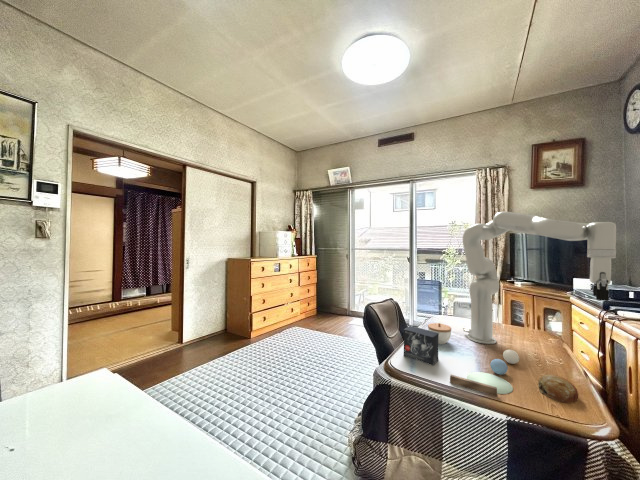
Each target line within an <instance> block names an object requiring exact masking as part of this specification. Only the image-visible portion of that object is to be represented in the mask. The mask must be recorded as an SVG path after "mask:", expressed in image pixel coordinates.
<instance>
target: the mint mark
mask: <svg viewBox="0 0 640 480" xmlns="http://www.w3.org/2000/svg"><path fill="white" fill-rule="evenodd" d="M466 379H469V380H472V381H476V382H479V383H483V384H486V385H490V386H493V387H497V395H506V394H508V395H509V394H511V393H513V389H514V388H513V385H512V384H511V383H510V382H508V381H507V380H506V379H504V378H502V377H500V376H497V375H495V374H492V373H488V372H483V371H482V372H481V371H473V372H469V373H468V374H467V375H466Z"/></svg>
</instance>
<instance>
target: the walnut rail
mask: <svg viewBox="0 0 640 480" xmlns="http://www.w3.org/2000/svg"><path fill="white" fill-rule="evenodd" d="M449 380H450V381H449V383H450V384H453V385H457V386H459V387H463V388H467V389H470V390H474V391H476V392H480V393H483V394H487V395H490V396H493V397H498V394H497V387H493V386H490V385H486V384H483V383H479V382H476V381H472V380H469V379H467V378H465V377H461V376H457V375H454V374H450V375H449Z"/></svg>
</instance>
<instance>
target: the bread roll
mask: <svg viewBox="0 0 640 480" xmlns="http://www.w3.org/2000/svg"><path fill="white" fill-rule="evenodd" d="M537 383H538V384H537V385H538V389H539V393H541V394H543V395H544V396H547V397H548V398H551V399H552V400H555V401H557V402H560V403H563V404H573V403H575V402H577V401H578V399H579V391H578V389H577V388H576V386H575V385H574V384H573V383H572V382H571V381H569V380H568V379H566V378H565V377H563V376H560V375H559V376H558V375H554V374H544V375H543V374H542V376H540V377H539V379H538V382H537Z"/></svg>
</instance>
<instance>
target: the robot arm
mask: <svg viewBox="0 0 640 480" xmlns="http://www.w3.org/2000/svg"><path fill="white" fill-rule="evenodd" d="M509 231H513V232H517V233H523V234H529V235H533V236H535V235H536V236H542V237H547V238H551V239H558V240H563V241H569V242H575V241H576V242H579V241H587V242H586V243H587V249H586V250H587V251H586V252H587V253H586V257H587V258H590V263H589V265H590V266H589V281H590V283H592V284H593V286H592V292H593V293H592V294H593V296H595V299H596V300H597V301H605V302H608V301H609V300H610V290H609V285H610V284H611V279H612V259H616V258H617V256H616V255H617V225H616V223H615V222H612V221H594V222H590V223H585V222H577V221H568V220H559V219H556V218H555V219H554V218H547V217H542V216H540V215H534V214H526V213H518V212H510V211H499V212H496V214H494V215H493V218H492V220H491V221H489V222H487V223H475V224H472V225H470V226H468V227H467V229H465V230H464V232H463V235H462V245H463V250H464V253H465V259H466V265H467V270H468V272H469V273H470V274H471V275H472V276H476V277H477V278H475V279H474V280H473V281H472V282H470V285H469V296H470V327H467V326H463V327H462V330H463V332H465V333H468V334H467V338H468V340H470V341H472V342H475V343H480V344H484V345H493V344H496V343H497V339H496V338H495V337H494V336H493V329H494V327H493V323H494V322H493V318H494V317H493V313H494V312H493V311H494V309H493V300H492V299H493V298H492V295H495V294H497V293H498V292H499V289H500V281H499V277H498V272H497V269H496V265H495V262H493V260H492V259H490V258H489V257H486V256H485V251H484V248H483V245H482V244H481V243H482V241H490V240H493V239H495V238H497V237H499V236H501V235H503V234H506V233H507V232H509Z"/></svg>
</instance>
